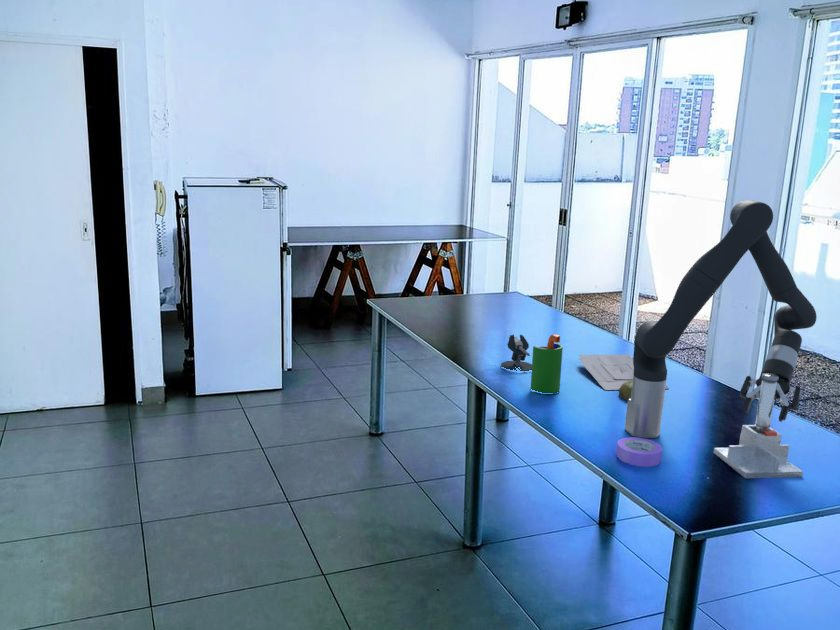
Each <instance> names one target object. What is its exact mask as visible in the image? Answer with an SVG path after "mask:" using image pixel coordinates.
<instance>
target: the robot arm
mask: <svg viewBox="0 0 840 630" xmlns="http://www.w3.org/2000/svg"><path fill="white" fill-rule="evenodd" d="M729 220H730V223H731V225H732V226H731V227H730V229H729V230H728V231H727V232H726V234H725V235H724V237H723V238H722V239H721V240H720V241H719V242H718V243H717V244H716V245H714V246H713V247H712V248H710V249H709V250H707V251H706V252H705V253H704V254H702V256H701V257H699V258H698V259H697V260H696V261H694V264H693V265H692V266H691V267H690V268H689V269H688V270H687V272H686V273H685V275H684V276H683V278H682V279H681V281H680V282H679V285H678V287H677V289H676V292H675V294H674V296H673V297H672V300H671V303H670V305H669V307H668V308H667V310H666V311H665V313H664V314H663V315H662V316H661V317H660V318H659V320H658V321H656V320H647V321H646V322H643V323H641V325H640V326H639V327H638V328H637V330H636V332H635V336H634V346H633V354H632V356H633V357H632V358H633V366H634V374H633V384H632V392H631V399H628V401H627V405H626V414H625V422H624V429H625V431H626V432H628V433H629V435H631V436H632V437H637V438H644V439H655V438H658V437H659V436H660V433H661V429H662V428H661V427H662V418H663V417H662V416H663V410H664V402H665V394H666V389H665V387H666V386H667V377H668V369H667V364H666V356H667V355H668V354H670V353H671V352H672V351H673V349H674V348H675V346H676V345H677V343H678V341H679V340H680V338H681V337H682V336H683V333H684V332H685V330H686V329H687V328H688V326H689V325H690V323H691V322H692V321H693V320H694V318H695V317H696V316H697V315H698V314H699V313H700V311H701V310H702V309H703V307H704V306H706V304H707V302H709V300H710V299H711V298H712V297H713V295H714V294H715V293H716V292H717V291H718V289H719V288H720V287H721V286H722V285H723V283H724V282H725V280H726V279H727V277H728V276H729V275H730V274H731V272H732V271H733V270H734V269H735V267H736V266H737V265H738V263H739V261H740V260H742V257H744V255H745V254H746V253H747V252H748V251H749V252H750V255H751V257H752V258H753V260H754V262H755V264H756V266H757V269H758V270H759V273H760V276H761V277H762V279H763V281H764V284H765V286H766V287H767V290H768V293H769V295H770V296H771V297H770V298H771V299H772V300H773V301H774V302H777V303H781V304H782V303H784V304H787V305H783V306H781V307H779V308H778V309H777V310H776V312H775V313H774V316H773V317H774V319H773V321H774V322H773V323H774V327H773V328H774V334H773V336H774V337H773V340H772V342H771V346H770V348H769V350H768V352H767V354H766V357H765V361H764V363H763V365H762V369H761V372H760V376H759V378H757V379H756V378H751V376H750V375H747V376H746V377H745V380H744V381H743V384H742V386H741V388H740V391H739V394H740V398H741V399H744V402H743V405H742V409H743V411H744V413H745V414H749V413H750V412H749V411H750V409H751V405H752V403H753V401H754V400H756V399H759V397H760V390H761V384H762V379H761V378H762V374H763V373H770V374H775V375H777V376H779V378H778V382H777V385H776V392H775V398H774V401H777V400H779V402H780V404H781V405H782V406H781V410H780V413H779V416H778V422H780V423H782V422H783V421H786V419H787V416H788V413H789V411H790V410H793V411H797V410H798V407H799V403H800V399H801V395H802V390H801V389H802V388H801V387H800V386H799V385H798V386H795V387H793V386H791V385H790V384H791V382H792V378H793V375H794V372H795V370H796V365H797V362H798V357H799V354H800V350H801V346H802V342H803V339H802V336H801V334H799V333H798V332H797V331H794V330H802V329H803V330H804V329H810V328H812V327H813V326H814V325H815V324H816V322H817V316H818V315H817V311H816V309H815V307H814V306H813V304H812V303H811V301H809V299H807V296H805V295H804V294H803V292H802V291H801V289H799V288H798V286H797V284H796V282H795V279H794V277H793V275H792V272H791V270H790V269H789V267H788V265H787V263H786V262H785V261H784V259H783V258H782V256H781V254H780V253H779V252H778V250H777V249H776V247H775V246H774V244H773V242H772V241H771V238H770V237H769V234H768V231H769V229H770V228H771V226H772V223H773V220H774V211H773V210H772V207H771V206H770V205H768V203H765V202H763V201H759V200H752V199H746V200H741V201H739V202H737V203H736V204H735V205H733V207H732V208H731V210H730V214H729ZM754 385H755V386H756V387H755V388H753V389H752V390H751V391H750V392H749V390H750V387H753V386H754ZM789 393H791V396H793V398H792V402H789V401H788V399H787V396H786V395H787V394H789Z"/></svg>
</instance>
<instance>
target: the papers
mask: <svg viewBox="0 0 840 630" xmlns="http://www.w3.org/2000/svg"><path fill="white" fill-rule="evenodd" d="M578 356H579V357H580V358H578V360H579V361H580V363H581V365H582V366H583V367H584V368H585V369H586V370H587V371H588V373H590V375H591V376H592V377H593V378H594V379H595V380H596V382H597V383H598V384H599V386H601V388H603V389H604V390H605V391H609V390H610V391H613V390H614V391H615V390H616V391H617V390H618V391H619V389H620V387H621V386H622V384H623V383H625V382H627V381H633V374H634V366H633V357H632V356H631V355H630V354H629V353H627V354H624V353H623V354H578ZM668 389H670V388H669V387H668V386H667V385H666V387H665V390H668Z"/></svg>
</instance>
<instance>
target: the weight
mask: <svg viewBox="0 0 840 630" xmlns="http://www.w3.org/2000/svg"><path fill="white" fill-rule="evenodd" d="M632 384H633V381H627V382H625V383H623V384H622V386H621V387H620V389H618V394H619V397H620V398H621V399H624V400H625V401H626V402H628V399H631V392H632Z"/></svg>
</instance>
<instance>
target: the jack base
mask: <svg viewBox="0 0 840 630" xmlns="http://www.w3.org/2000/svg"><path fill="white" fill-rule="evenodd" d="M754 429H755V424H742V425H741V432H740V435H739V442H738V444H737V445H733V444H732V445H731V444H730V445H728V447H714V448H713V454H714V455H716V456H717V457H718V458H720V459H721V461H724V463H726V464H727V465H728V466H729V467H731V468H732V469H733V470H734V471H735V472H736V473H738V474H739V475H741V477H742V478H744V479H764V478H766V479H772V478H778V479H779V478H803V473H804V472H803V470H802V469H800V468H799V467H797V466H796V465H794V464H793V463H791V462H790V461H789V460H788V456H789V451H790V445H789V444H788V443H787V444H782V443H781V442H782V435H783V434H782V433H781V432H778V431H777V430H776V429H774V428H772V427H771V426H770V429H769V430H763V434H758V433H757V432H755V431H754Z"/></svg>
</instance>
